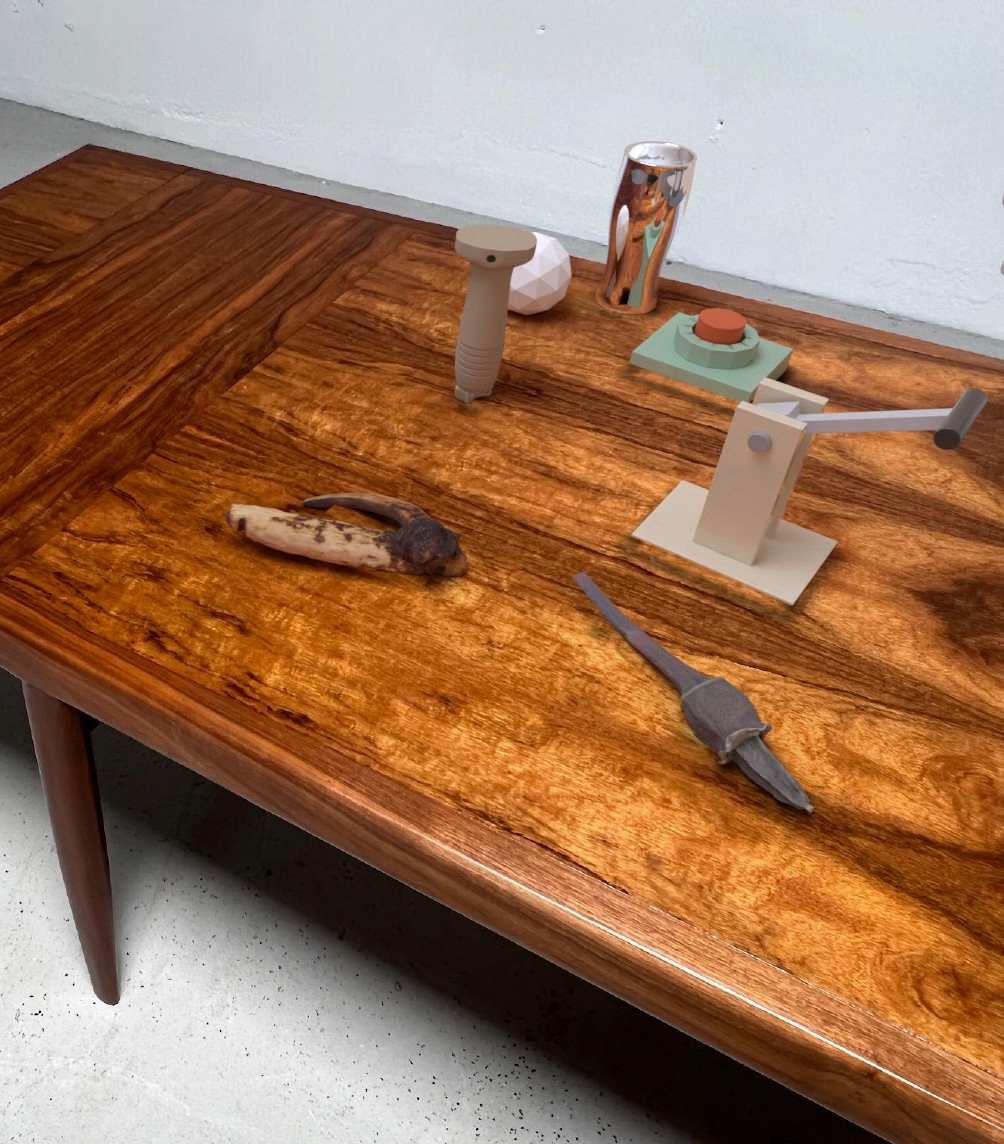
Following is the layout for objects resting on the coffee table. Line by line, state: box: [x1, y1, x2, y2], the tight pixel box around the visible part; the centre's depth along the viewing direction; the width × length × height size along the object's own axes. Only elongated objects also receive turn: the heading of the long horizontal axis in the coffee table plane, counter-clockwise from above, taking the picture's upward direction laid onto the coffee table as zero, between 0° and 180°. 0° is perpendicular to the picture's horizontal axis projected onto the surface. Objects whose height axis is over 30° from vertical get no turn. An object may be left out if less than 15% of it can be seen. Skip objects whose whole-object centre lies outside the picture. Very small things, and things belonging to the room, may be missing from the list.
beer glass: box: [594, 140, 698, 316], centre depth 109 cm, size 7×7×15 cm
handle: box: [454, 223, 537, 405], centre depth 95 cm, size 5×6×15 cm
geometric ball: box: [507, 231, 573, 316], centre depth 110 cm, size 8×8×8 cm
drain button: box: [694, 307, 747, 345], centre depth 100 cm, size 4×4×2 cm
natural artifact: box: [571, 571, 815, 814], centre depth 71 cm, size 4×23×4 cm
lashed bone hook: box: [225, 492, 468, 577], centre depth 82 cm, size 9×5×18 cm
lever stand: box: [630, 377, 839, 607], centre depth 79 cm, size 12×9×13 cm
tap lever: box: [756, 387, 988, 451], centre depth 73 cm, size 13×6×2 cm, turn 49°
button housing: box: [629, 311, 794, 403], centre depth 102 cm, size 11×10×4 cm
